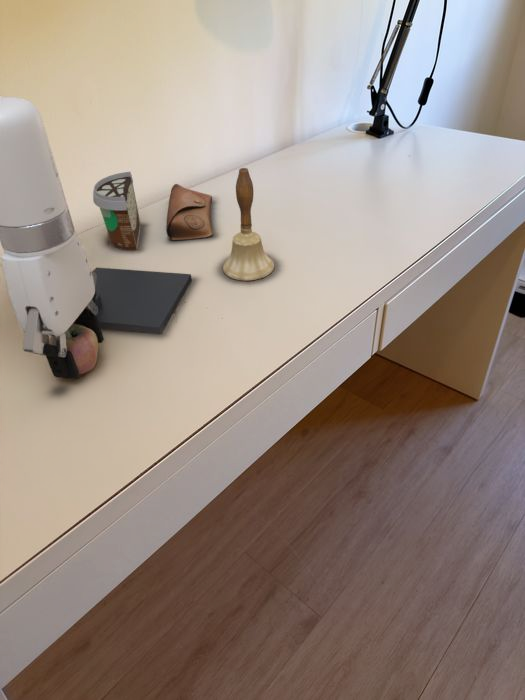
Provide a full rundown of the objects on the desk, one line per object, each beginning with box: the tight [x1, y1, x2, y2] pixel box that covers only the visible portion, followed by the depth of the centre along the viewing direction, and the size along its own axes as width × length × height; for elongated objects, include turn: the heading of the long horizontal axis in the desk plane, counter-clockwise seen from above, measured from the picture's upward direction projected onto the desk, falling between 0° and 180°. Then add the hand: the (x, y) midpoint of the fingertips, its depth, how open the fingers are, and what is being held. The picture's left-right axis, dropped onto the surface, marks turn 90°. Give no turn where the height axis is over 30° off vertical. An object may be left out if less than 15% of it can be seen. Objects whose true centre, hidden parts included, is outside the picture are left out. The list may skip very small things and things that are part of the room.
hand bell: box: [222, 167, 275, 282], centre depth 80 cm, size 8×8×16 cm
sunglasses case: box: [165, 183, 214, 241], centre depth 99 cm, size 18×7×7 cm
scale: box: [73, 267, 193, 335], centre depth 78 cm, size 16×14×3 cm
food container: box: [92, 171, 142, 251], centre depth 92 cm, size 12×6×10 cm, turn 6°
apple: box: [49, 324, 99, 375], centre depth 65 cm, size 6×8×6 cm
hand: (80, 357), depth 67 cm, fingers closed on apple, 6 cm apart
